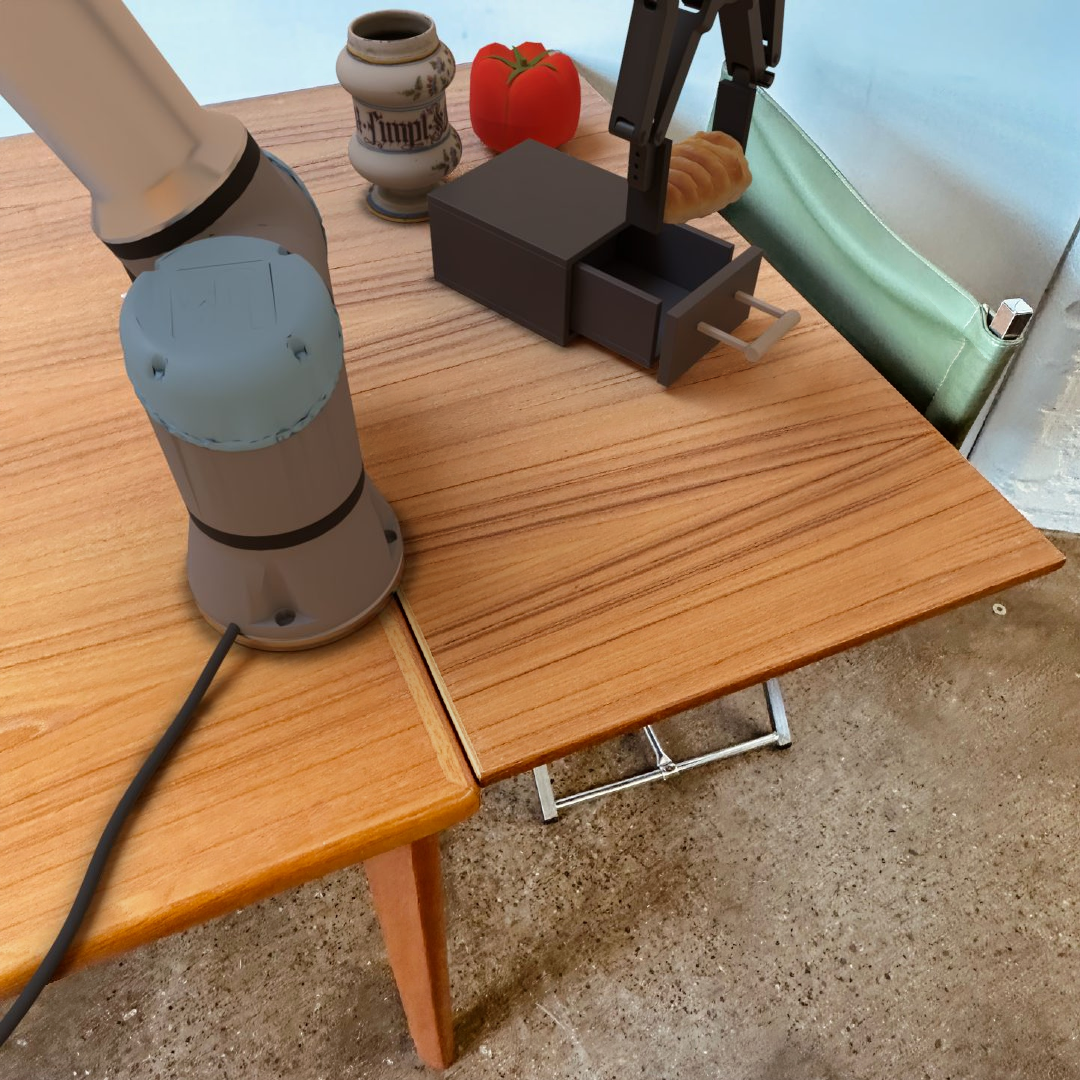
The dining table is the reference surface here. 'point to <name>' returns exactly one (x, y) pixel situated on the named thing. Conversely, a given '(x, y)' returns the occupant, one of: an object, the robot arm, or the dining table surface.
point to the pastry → (704, 176)
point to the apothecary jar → (399, 110)
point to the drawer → (670, 298)
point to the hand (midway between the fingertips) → (684, 198)
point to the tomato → (523, 96)
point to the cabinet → (524, 232)
